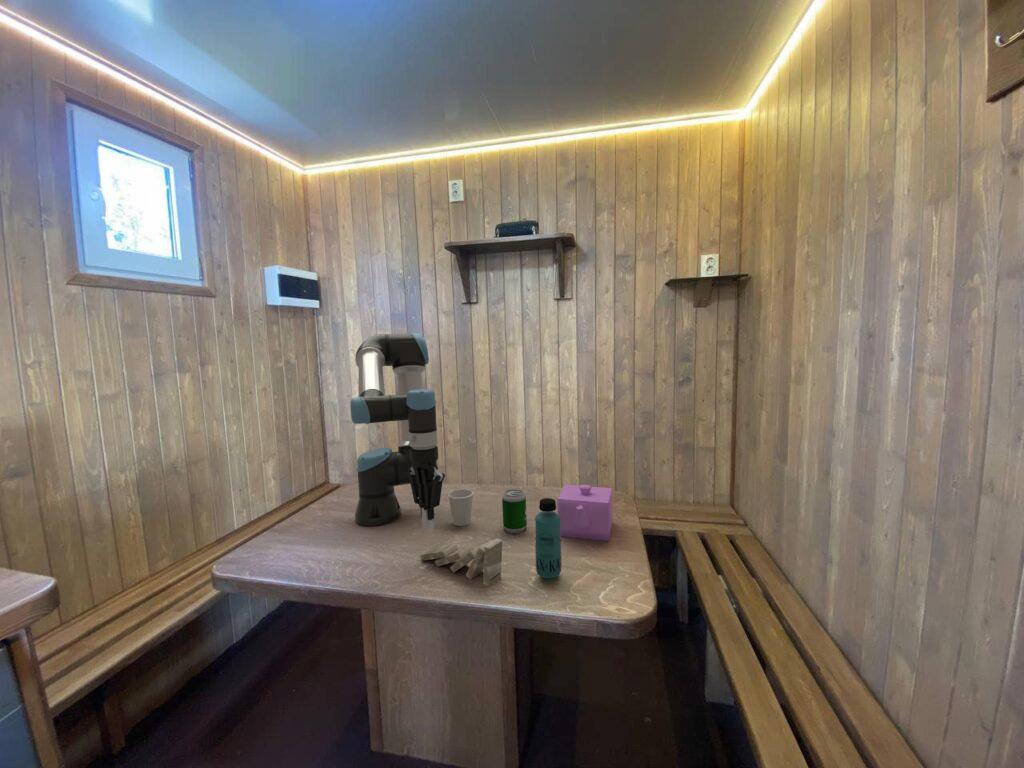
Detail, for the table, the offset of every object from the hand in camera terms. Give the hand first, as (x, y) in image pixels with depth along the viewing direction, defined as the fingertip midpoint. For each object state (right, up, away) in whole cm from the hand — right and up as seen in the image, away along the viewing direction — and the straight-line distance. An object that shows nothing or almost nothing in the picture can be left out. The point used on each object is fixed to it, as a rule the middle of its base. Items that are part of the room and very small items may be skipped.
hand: (428, 529), depth 117 cm
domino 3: (+9, -8, -5) cm, 13 cm away
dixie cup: (+7, -6, +23) cm, 25 cm away
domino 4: (+14, -8, -9) cm, 18 cm away
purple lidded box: (+46, -5, +14) cm, 48 cm away
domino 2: (+4, -7, -2) cm, 9 cm away
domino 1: (0, -7, +1) cm, 7 cm away
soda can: (+24, -6, +17) cm, 30 cm away
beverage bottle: (+32, -8, -11) cm, 35 cm away
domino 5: (+18, -9, -12) cm, 23 cm away
